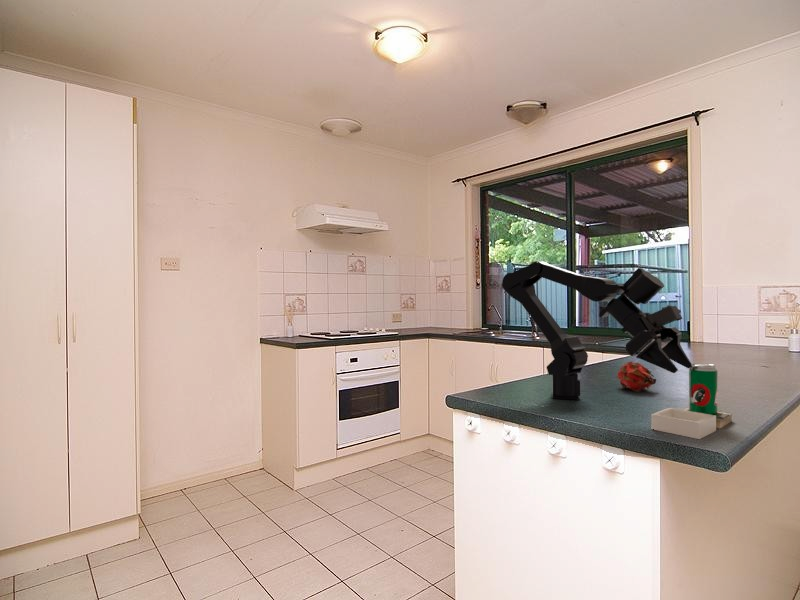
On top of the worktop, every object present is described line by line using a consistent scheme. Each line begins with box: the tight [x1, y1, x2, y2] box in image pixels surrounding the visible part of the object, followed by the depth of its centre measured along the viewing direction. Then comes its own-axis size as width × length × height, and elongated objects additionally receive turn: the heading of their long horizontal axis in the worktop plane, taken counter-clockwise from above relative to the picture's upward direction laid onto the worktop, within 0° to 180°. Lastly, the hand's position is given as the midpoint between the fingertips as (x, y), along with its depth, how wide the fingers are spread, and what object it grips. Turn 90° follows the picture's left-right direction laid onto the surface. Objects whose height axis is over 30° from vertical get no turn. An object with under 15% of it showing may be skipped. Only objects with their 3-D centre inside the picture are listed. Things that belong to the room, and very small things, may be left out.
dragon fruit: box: [616, 361, 657, 393], centre depth 131 cm, size 8×8×12 cm
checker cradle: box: [682, 406, 733, 429], centre depth 99 cm, size 8×8×2 cm
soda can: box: [688, 362, 719, 420], centre depth 99 cm, size 5×5×12 cm
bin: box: [650, 407, 717, 440], centre depth 92 cm, size 9×9×3 cm
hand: (683, 369), depth 101 cm, fingers open, 9 cm apart
